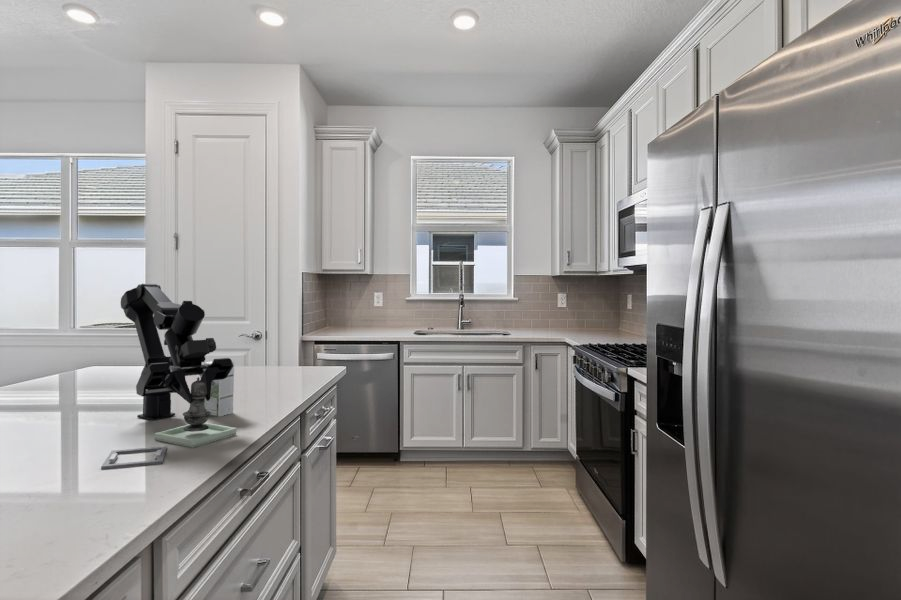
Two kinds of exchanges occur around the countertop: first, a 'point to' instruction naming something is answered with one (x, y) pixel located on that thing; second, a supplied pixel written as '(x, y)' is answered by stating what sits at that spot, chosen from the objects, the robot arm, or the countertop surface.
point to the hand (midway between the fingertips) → (200, 400)
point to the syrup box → (221, 395)
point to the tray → (195, 435)
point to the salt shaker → (197, 408)
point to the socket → (114, 454)
